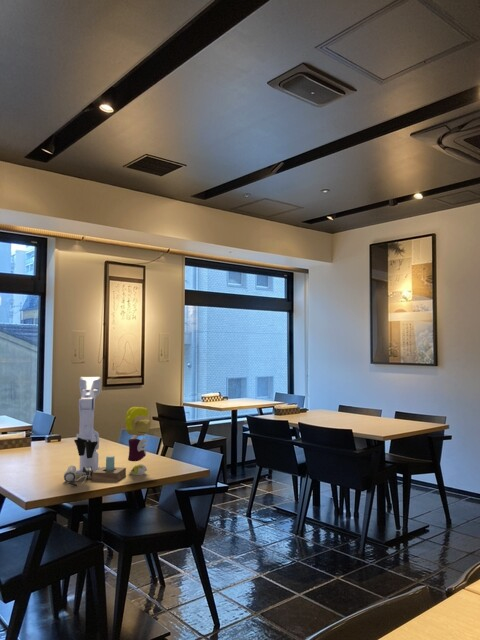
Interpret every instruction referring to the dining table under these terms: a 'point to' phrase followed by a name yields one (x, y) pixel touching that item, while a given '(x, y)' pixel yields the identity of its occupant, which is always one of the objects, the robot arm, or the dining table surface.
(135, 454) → the toy
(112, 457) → the teal peg
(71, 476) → the clip-on lamp
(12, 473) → the dining table surface
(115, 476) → the socket block
